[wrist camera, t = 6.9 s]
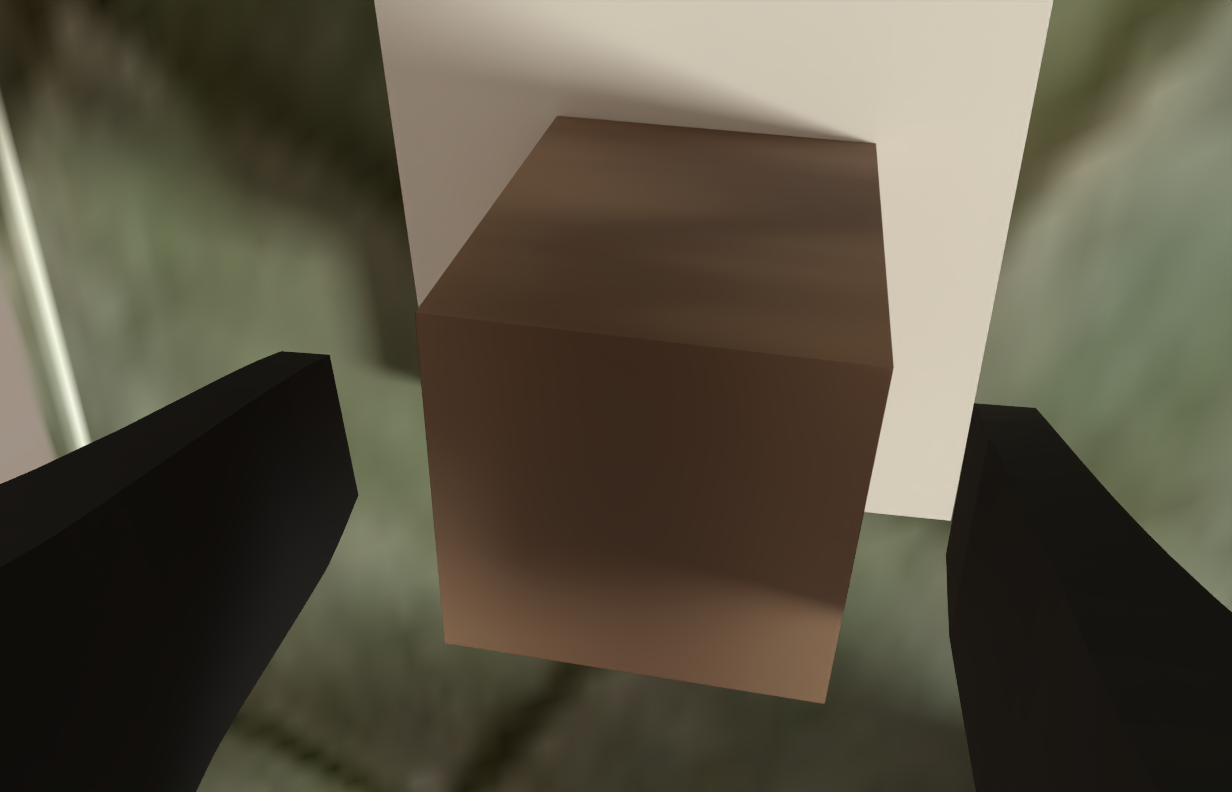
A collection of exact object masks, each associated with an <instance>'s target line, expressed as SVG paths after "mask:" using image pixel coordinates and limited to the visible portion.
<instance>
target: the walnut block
mask: <svg viewBox="0 0 1232 792" xmlns="http://www.w3.org/2000/svg"><path fill="white" fill-rule="evenodd" d="M415 319H416V330H417V341H418V353H419V364H420V375H421V386H422V397H423V408H424V419H425V430H426V441H427V452H428V463H429V474H430V485H431V496H432V507H433V518H434V529H435V540H436V552H437V563H438V574H439V585H440V596H441V607H442V618H443V629H444V640H445V643H448V644H454V645H460V646H467V647H473V648H479V649H485V650H492V651H498V652H504V653H510V654H516V655H523V656H529V657H535V658H541V659H548V660H554V661H560V662H566V663H573V664H579V665H585V666H591V667H598V668H604V669H610V670H616V671H623V672H629V673H635V674H641V675H648V676H654V677H660V678H666V679H673V680H679V681H685V682H691V683H698V684H704V685H710V686H716V687H723V688H729V689H735V690H741V691H748V692H754V693H760V694H766V695H773V696H779V697H785V698H791V699H798V700H804V701H810V702H816V703H823V704H825V700H826V695H827V690H828V685H829V680H830V676H831V671H832V666H833V661H834V656H835V651H836V646H837V642H838V637H839V632H840V627H841V622H842V617H843V612H844V607H845V603H846V598H847V593H848V588H849V583H850V578H851V573H852V568H853V564H854V559H855V554H856V549H857V544H858V539H859V534H860V530H861V525H862V520H863V515H864V510H865V505H866V500H867V495H868V491H869V486H870V481H871V476H872V471H873V466H874V461H875V456H876V452H877V447H878V442H879V437H880V432H881V427H882V422H883V418H884V413H885V408H886V403H887V398H888V393H889V388H890V383H891V379H892V374H893V369H894V365H893V353H892V340H891V327H890V315H889V302H888V289H887V277H886V264H885V251H884V239H883V226H882V213H881V200H880V188H879V175H878V162H877V150H876V143H865V142H853V141H842V140H830V139H819V138H807V137H796V136H784V135H773V134H761V133H750V132H738V131H727V130H715V129H704V128H692V127H681V126H669V125H658V124H646V123H635V122H623V121H612V120H600V119H589V118H577V117H566V116H556V118H555V119H554V121H553V122H552V123H551V125H550V126H549V128H548V129H547V130H546V132H545V133H544V134H543V136H542V137H541V139H540V140H539V141H538V143H537V144H536V146H535V147H534V148H533V150H532V151H531V152H530V154H529V155H528V157H527V158H526V159H525V161H524V162H523V164H522V165H521V166H520V168H519V169H518V170H517V172H516V173H515V175H514V176H513V177H512V179H511V180H510V182H509V183H508V184H507V186H506V187H505V188H504V190H503V191H502V193H501V194H500V195H499V197H498V198H497V200H496V201H495V202H494V204H493V205H492V206H491V208H490V209H489V211H488V212H487V213H486V215H485V216H484V218H483V219H482V220H481V222H480V223H479V224H478V226H477V227H476V229H475V230H474V231H473V233H472V234H471V236H470V237H469V238H468V240H467V241H466V242H465V244H464V245H463V247H462V248H461V249H460V251H459V252H458V254H457V255H456V256H455V258H454V259H453V260H452V262H451V263H450V265H449V266H448V267H447V269H446V270H445V272H444V273H443V274H442V276H441V277H440V278H439V280H438V281H437V283H436V284H435V285H434V287H433V288H432V290H431V291H430V292H429V294H428V295H427V296H426V298H425V299H424V301H423V302H422V303H421V305H420V306H419V308H418V309H417V310H416V312H415Z"/></svg>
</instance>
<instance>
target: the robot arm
mask: <svg viewBox="0 0 1232 792" xmlns="http://www.w3.org/2000/svg"><path fill="white" fill-rule="evenodd" d="M357 497H358V491H357V486H356V481H355V477H354V472H353V467H352V462H351V457H350V452H349V447H348V442H347V438H346V433H345V428H344V423H343V418H342V413H341V408H340V403H339V399H338V394H337V389H336V384H335V379H334V374H333V369H332V364H331V360H330V355H324V354H310V353H297V352H284V351H281V352H278V353H276V354H273V355H271V356H268V357H265V358H263V359H261V360H258V361H256V362H254V363H251V364H249V365H247V366H245V367H243V368H241V369H239V370H237V371H234V372H232V373H230V374H228V375H226V376H224V377H222V378H220V379H218V380H216V381H214V382H212V383H210V384H208V385H206V386H204V387H202V388H201V389H199V390H197V391H195V392H193V393H191V394H189V395H187V396H185V397H183V398H181V399H179V400H177V401H175V402H173V403H171V404H169V405H167V406H165V407H163V408H161V409H159V410H157V411H155V412H153V413H151V414H150V415H148V416H146V417H144V418H142V419H140V420H138V421H136V422H134V423H132V424H130V425H128V426H126V427H124V428H122V429H120V430H118V431H116V432H114V433H111V434H109V435H107V436H105V437H103V438H101V439H99V440H96V441H94V442H92V443H90V444H88V445H86V446H84V447H82V448H79V449H77V450H75V451H73V452H71V453H69V454H67V455H65V456H62V457H60V458H58V459H56V460H54V461H52V462H50V463H48V464H45V465H43V466H41V467H39V468H37V469H35V470H32V471H30V472H28V473H25V474H23V475H21V476H18V477H16V478H14V479H12V480H9V481H7V482H4V483H2V484H0V792H196V790H197V788H198V786H199V784H200V782H201V780H202V778H203V776H204V774H205V772H206V770H207V768H208V766H209V763H210V761H211V759H212V757H213V755H214V753H215V752H216V750H217V748H218V746H219V744H220V743H221V741H222V739H223V737H224V736H225V734H226V732H227V730H228V728H229V727H230V725H231V723H232V721H233V720H234V718H235V716H236V715H237V713H238V711H239V710H240V708H241V707H242V705H243V703H244V702H245V700H246V699H247V697H248V695H249V694H250V692H251V691H252V689H253V687H254V686H255V684H256V683H257V681H258V679H259V678H260V676H261V675H262V673H263V671H264V670H265V668H266V667H267V665H268V663H269V662H270V660H271V658H272V657H273V655H274V654H275V652H276V650H277V649H278V647H279V646H280V644H281V642H282V641H283V639H284V638H285V636H286V634H287V633H288V631H289V630H290V628H291V626H292V625H293V623H294V622H295V620H296V618H297V617H298V615H299V613H300V612H301V610H302V609H303V607H304V605H305V604H306V602H307V600H308V599H309V597H310V595H311V594H312V592H313V590H314V589H315V587H316V586H317V584H318V582H319V580H320V579H321V577H322V575H323V574H324V572H325V570H326V569H327V567H328V565H329V563H330V561H331V558H332V556H333V554H334V552H335V550H336V547H337V545H338V543H339V541H340V538H341V536H342V534H343V532H344V529H345V527H346V524H347V522H348V519H349V517H350V514H351V512H352V509H353V507H354V504H355V502H356V500H357ZM946 565H947V595H948V617H949V637H950V643H951V649H952V655H953V661H954V667H955V673H956V679H957V685H958V691H959V696H960V702H961V708H962V714H963V719H964V725H965V731H966V736H967V742H968V748H969V753H970V759H971V765H972V770H973V776H974V782H975V787H976V792H1232V612H1231V611H1230V610H1228V609H1227V608H1226V607H1225V606H1224V605H1223V604H1221V603H1220V602H1219V601H1218V600H1217V599H1216V598H1215V597H1214V596H1213V595H1211V594H1210V593H1209V592H1208V591H1207V590H1206V589H1205V588H1204V587H1203V586H1202V585H1201V584H1200V583H1199V582H1198V581H1196V580H1195V579H1194V578H1193V577H1192V576H1191V575H1190V574H1189V573H1188V572H1187V571H1186V570H1185V569H1184V568H1183V567H1181V566H1180V565H1179V564H1178V563H1177V562H1176V561H1175V560H1174V559H1173V558H1172V557H1171V556H1170V555H1169V554H1168V553H1167V552H1166V551H1165V550H1164V549H1163V548H1162V547H1161V546H1160V545H1159V544H1158V543H1157V542H1156V541H1155V540H1154V539H1153V538H1152V537H1151V536H1150V535H1149V534H1148V533H1147V532H1146V531H1145V530H1144V529H1143V528H1142V527H1141V526H1140V525H1139V524H1138V523H1137V522H1136V521H1135V520H1134V519H1133V518H1132V517H1131V516H1130V515H1129V513H1128V512H1127V511H1126V510H1125V509H1124V508H1123V507H1122V506H1121V505H1120V504H1119V503H1118V502H1117V501H1116V500H1115V499H1114V497H1113V496H1112V495H1111V494H1110V493H1109V492H1108V491H1107V490H1106V489H1105V487H1104V486H1103V485H1102V484H1101V483H1100V482H1099V481H1098V480H1097V478H1096V477H1095V476H1094V475H1093V474H1092V473H1091V472H1090V470H1089V469H1088V468H1087V467H1086V466H1085V465H1084V464H1083V462H1082V461H1081V460H1080V459H1079V458H1078V457H1077V455H1076V454H1075V453H1074V452H1073V451H1072V450H1071V448H1070V447H1069V446H1068V445H1067V444H1066V443H1065V441H1064V440H1063V439H1062V438H1061V437H1060V436H1059V434H1058V433H1057V432H1056V431H1055V430H1054V429H1053V427H1052V426H1051V425H1050V424H1049V423H1048V422H1047V420H1046V419H1045V418H1044V417H1043V416H1042V415H1041V414H1040V412H1039V411H1038V410H1037V409H1036V408H1028V407H1015V406H1001V405H988V404H975V403H974V405H973V411H972V416H971V422H970V427H969V433H968V438H967V443H966V449H965V454H964V460H963V465H962V471H961V476H960V481H959V487H958V492H957V498H956V503H955V509H954V514H953V519H952V525H951V530H950V536H949V541H948V547H947V552H946Z"/></svg>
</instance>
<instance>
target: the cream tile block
mask: <svg viewBox="0 0 1232 792" xmlns="http://www.w3.org/2000/svg"><path fill="white" fill-rule="evenodd" d="M374 2H375V9H376V16H377V23H378V30H379V37H380V44H381V51H382V58H383V65H384V72H385V79H386V86H387V93H388V100H389V107H390V114H391V121H392V128H393V135H394V142H395V149H396V155H397V162H398V169H399V176H400V183H401V190H402V197H403V204H404V211H405V218H406V225H407V232H408V239H409V246H410V253H411V260H412V267H413V274H414V281H415V288H416V295H417V302H418V308H419V306H420V305H421V303H422V302H423V301H424V299H425V298H426V296H427V295H428V294H429V292H430V291H431V290H432V288H433V287H434V285H435V284H436V283H437V281H438V280H439V278H440V277H441V276H442V274H443V273H444V272H445V270H446V269H447V267H448V266H449V265H450V263H451V262H452V260H453V259H454V258H455V256H456V255H457V254H458V252H459V251H460V249H461V248H462V247H463V245H464V244H465V242H466V241H467V240H468V238H469V237H470V236H471V234H472V233H473V231H474V230H475V229H476V227H477V226H478V224H479V223H480V222H481V220H482V219H483V218H484V216H485V215H486V213H487V212H488V211H489V209H490V208H491V206H492V205H493V204H494V202H495V201H496V200H497V198H498V197H499V195H500V194H501V193H502V191H503V190H504V188H505V187H506V186H507V184H508V183H509V182H510V180H511V179H512V177H513V176H514V175H515V173H516V172H517V170H518V169H519V168H520V166H521V165H522V164H523V162H524V161H525V159H526V158H527V157H528V155H529V154H530V152H531V151H532V150H533V148H534V147H535V146H536V144H537V143H538V141H539V140H540V139H541V137H542V136H543V134H544V133H545V132H546V130H547V129H548V128H549V126H550V125H551V123H552V122H553V121H554V119H555V118H556V116H566V117H577V118H589V119H600V120H612V121H623V122H635V123H646V124H658V125H669V126H681V127H692V128H704V129H715V130H727V131H738V132H750V133H761V134H773V135H784V136H796V137H807V138H819V139H830V140H842V141H853V142H865V143H876V150H877V162H878V175H879V188H880V200H881V213H882V226H883V239H884V251H885V264H886V277H887V289H888V302H889V315H890V327H891V340H892V353H893V365H894V369H893V374H892V379H891V383H890V388H889V393H888V398H887V403H886V408H885V413H884V418H883V422H882V427H881V432H880V437H879V442H878V447H877V452H876V456H875V461H874V466H873V471H872V476H871V481H870V486H869V491H868V495H867V500H866V505H865V510H864V512H871V513H881V514H891V515H900V516H910V517H920V518H930V519H939V520H949V521H951V517H952V511H953V506H954V501H955V496H956V491H957V486H958V481H959V476H960V471H961V466H962V461H963V456H964V451H965V446H966V440H967V435H968V430H969V425H970V420H971V415H972V410H973V405H974V400H975V395H976V390H977V385H978V380H979V375H980V369H981V364H982V359H983V354H984V349H985V344H986V339H987V334H988V329H989V324H990V319H991V314H992V309H993V304H994V298H995V293H996V288H997V283H998V278H999V273H1000V268H1001V263H1002V258H1003V253H1004V248H1005V243H1006V238H1007V233H1008V227H1009V222H1010V217H1011V212H1012V207H1013V202H1014V197H1015V192H1016V187H1017V182H1018V177H1019V172H1020V167H1021V162H1022V156H1023V151H1024V146H1025V141H1026V136H1027V131H1028V126H1029V121H1030V116H1031V111H1032V106H1033V101H1034V96H1035V91H1036V85H1037V80H1038V75H1039V70H1040V65H1041V60H1042V55H1043V50H1044V45H1045V40H1046V35H1047V30H1048V25H1049V20H1050V14H1051V9H1052V4H1053V0H374Z"/></svg>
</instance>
